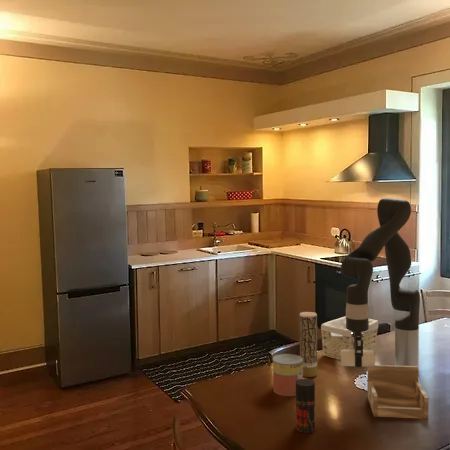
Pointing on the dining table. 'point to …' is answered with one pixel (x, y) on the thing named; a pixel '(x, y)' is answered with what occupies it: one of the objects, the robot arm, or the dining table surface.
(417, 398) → the holder
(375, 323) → the storage basket
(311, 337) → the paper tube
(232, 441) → the dining table surface
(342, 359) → the white cylinder
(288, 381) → the canned food
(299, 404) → the deodorant
